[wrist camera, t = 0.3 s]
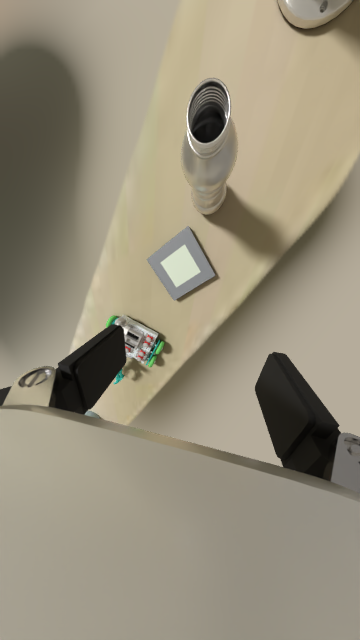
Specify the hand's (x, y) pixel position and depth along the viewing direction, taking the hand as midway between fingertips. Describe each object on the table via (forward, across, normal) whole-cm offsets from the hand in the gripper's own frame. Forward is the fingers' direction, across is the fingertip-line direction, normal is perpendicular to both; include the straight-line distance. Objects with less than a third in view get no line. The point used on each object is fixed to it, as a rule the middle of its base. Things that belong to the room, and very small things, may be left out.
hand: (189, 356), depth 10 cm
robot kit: (+31, +21, +26) cm, 45 cm away
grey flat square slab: (+30, +6, -2) cm, 31 cm away
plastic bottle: (+30, +2, -16) cm, 34 cm away
